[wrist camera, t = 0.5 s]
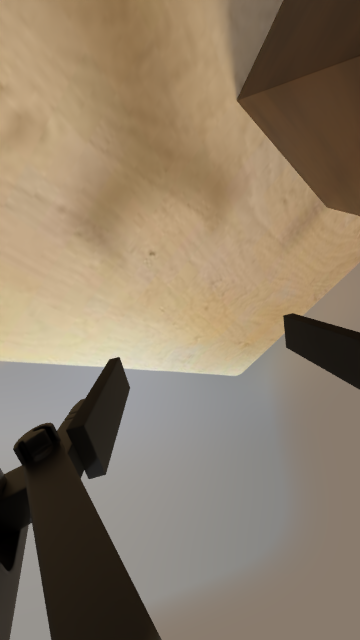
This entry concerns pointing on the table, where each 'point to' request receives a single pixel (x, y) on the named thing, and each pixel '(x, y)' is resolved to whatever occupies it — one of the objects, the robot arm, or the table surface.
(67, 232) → the table surface
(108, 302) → the table surface
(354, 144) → the stand
